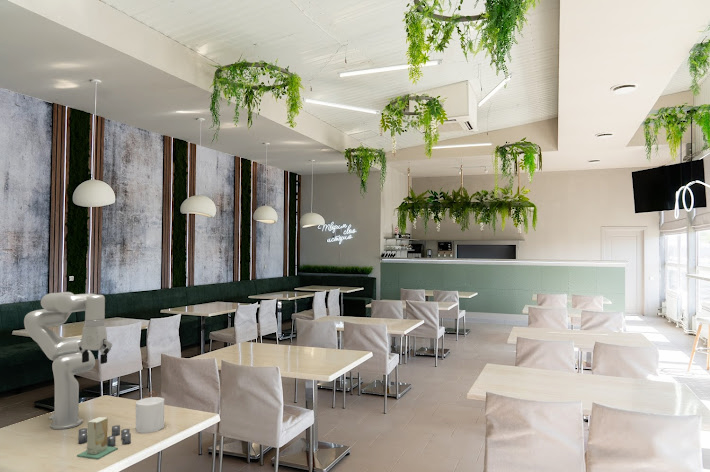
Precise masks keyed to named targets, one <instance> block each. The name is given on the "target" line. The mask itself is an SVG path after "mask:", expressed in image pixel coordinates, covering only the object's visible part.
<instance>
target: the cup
mask: <svg viewBox="0 0 710 472" xmlns="http://www.w3.org/2000/svg"><path fill="white" fill-rule="evenodd" d="M164 428H165V398H164V397H160V396H156V397H154V396H150V397H148V398H147V397H145V398H144V399H143V398H141V399H139V400H137V401H136V402H135V431H136V432H137V433H139V434H140V433H141V434H147V433H148V434H149V433H155V432H158V431H161V430H162V429H164Z"/></svg>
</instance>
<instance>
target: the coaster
mask: <svg viewBox="0 0 710 472" xmlns="http://www.w3.org/2000/svg"><path fill="white" fill-rule="evenodd" d="M118 449H119V447H116V446H114V447H109V446H107V449H105V450H103V451H101V452H99V453H98V454H89V453H87V449H86V450H84V451H82V452H81V453H79V454H77V455H76V457H78V458H85V459H91V460H92V459H93V460H100V459H102V458H104V457H106V456H108V455H109V454H111V453H113V452H115V451H117V450H118Z"/></svg>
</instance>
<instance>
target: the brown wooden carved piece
mask: <svg viewBox="0 0 710 472" xmlns="http://www.w3.org/2000/svg"><path fill="white" fill-rule="evenodd" d="M147 395H148V396H147ZM147 395H145V396H143V397H142V399H145V398H150V397H157V393H156V391H154V390H152V391H150V392H149V393H148V394H147Z"/></svg>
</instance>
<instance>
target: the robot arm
mask: <svg viewBox="0 0 710 472" xmlns="http://www.w3.org/2000/svg"><path fill="white" fill-rule="evenodd" d="M105 303H106V298H105V295H103V294H95V293H79V294H78V293H77V294H74V293H73V292H71V291H62V292H51V293H47V294H45V295H43V297H42V298H41V299H40V306H41V307H42V308H41V309H36V310H33V311H30V312H27V314H26V315H25V316H24V319H23V324H24V325H23V326H24V329H25V332H26V333H27V334H28V336H29V337H30V338H32V340H33V341H34V342H36V343H37V345H38V346H39V347H40V349H41V351H42V352H43V353H44V354H45V355H46V357H47V358H48V359H49V360H51V361H53V362H52V366H51V367H52V372H53V379H54V412H53V413H51V414H50V415H49V417H48V420H52V422H51V423H50V424H49V427H50V429H53V430H66V429H71V428H74V427H77V426H80V425H81V424H82V423H83V419H82V418H81V417H79V407H80V405H79V395H80V393H79V392H80V391H79V390H80V389H79V388H80V383H79V381H78V380H77V378H76V377H75V375H77V374H82V373H87V372H90V371H91V370H93V369H94V368H95V365H96V359H95V356H94V354H93V352H92V351H99V352H100V364H101V365H103V364H106V363H108V354H109V352H110V351H111V348H112V346H113V344H112V343H111V342H110V341H108V334H107V329H106V328H107V327H106V325H105V321H106V320H105V317H106V316H105V315H106V313H105V309H106V308H105V307H106V304H105ZM76 312H85V313H84V314H85V315H84V321H83V323H84V326H83V328H82V334H81V338H80V337H66V338H62V337H60V336H59V335H58V333H57V332H56V331H54V330H53V329H51V328H49V327H53V326H54V327H55V326H60V325H63V324H65V323H66V322H67V320H68V318H69V317H70V315H71V314H72V313H76Z"/></svg>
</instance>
